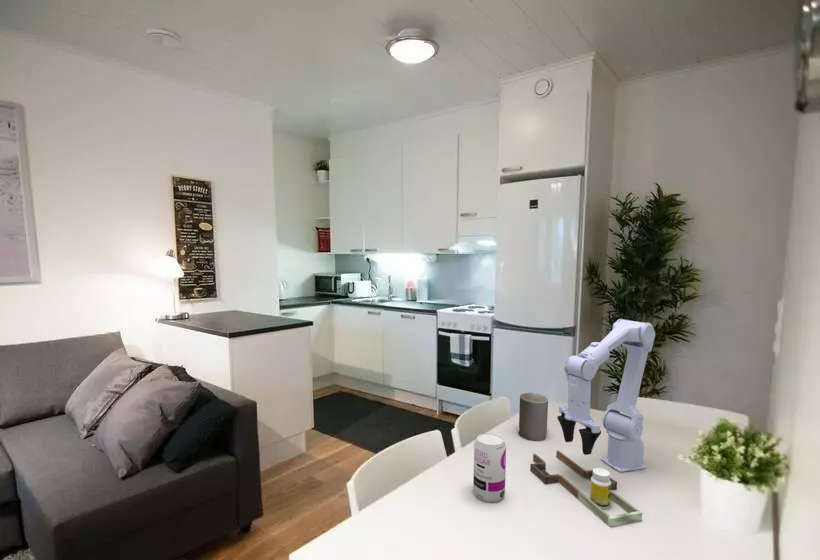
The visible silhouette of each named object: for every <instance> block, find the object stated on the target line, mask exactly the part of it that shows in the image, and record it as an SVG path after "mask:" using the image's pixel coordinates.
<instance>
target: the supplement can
mask: <svg viewBox="0 0 820 560" xmlns="http://www.w3.org/2000/svg"><path fill="white" fill-rule="evenodd" d="M506 460H507V444H506V443H505V441H504V438H503V437H502V436H500V435H499V434H496V433H491V432H490V433H486V432H485V433H481V434H478V435H477V437H476V439H475V441H474V443H473V483H472V484H473V486H472V488H473V489H472V490H473V493H474V495H475V496H476V497H477V498H478V499H480V500H481V501H484V502H488V503H497V502H500V501H501V500H502V499H503V498H504V497H505V496H506V468H507V467H506V465H507V464H506V463H507V461H506Z"/></svg>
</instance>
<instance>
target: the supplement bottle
mask: <svg viewBox="0 0 820 560" xmlns="http://www.w3.org/2000/svg"><path fill="white" fill-rule="evenodd" d="M592 470H593V476H592V477H591V481H590V493H589V494H590V495H589V496H590V497H589V499H591V500H592V501H593V502H594V503H595V504H597V505H598V506H599V507H600V508H601V509H603V510H606V509H609V508H610V507H611V503H612V502H611V501H612V500H611V481H610V478H611V472H610V471H609V470H607V469H606V468H602V467H595V468H593V469H592Z"/></svg>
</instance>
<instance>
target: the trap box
mask: <svg viewBox="0 0 820 560" xmlns="http://www.w3.org/2000/svg"><path fill="white" fill-rule="evenodd" d="M555 454H556V455H555V456H556V458H557V459H558V460H559V461H561V462H562V463H563V464H565V465H566V466H567V467H568V468H570V469H571V470H572V471H573V472H575V473H576V474H577V475H579V476H580V477H581V478H583V479H585V480H588V481H589V482H591V477H592V476H593V469H591V470H585V469H584V468H583V467H581V466H580V465H579V464H578V463H576V461H575V462H574V461H573V459H570V458H569V457H568V456H567V455H566V454H564V453H563V452H561V451H560V450H556V452H555ZM532 461H533V462H534V463H531V464H530V467H529V468H530V470H529V471H530V472H531V473H532V474H533V475H534V474H535V475H534V476H535V477H536V478H538V480H540V481H541V482H542V483H543V485H552V484H560V485H561V486H562V487H563V488H564V489H566V491H568V492H569V493H570V494H571V495H572V496H574V497H575V499H577V500H579V501H580V503H582V504H583V505H584V506H585V507H586V508H588V509H589V510H590V511H591V512H592V513H593V514H594V515H595V516H596V517H598V518H599V519H600V520H601V521H602V522H604V523H605V524H606V525H607V526H608V527H610V528H613V527H618V526H623V525H629V524H633V523H637V522H642V521H643V512H642V511H640V510H639V509H638V508H637V507H635V506H633V505H632V504H631V503H630V502H628V501H627V500H626V499H624V498H623V497H622V496H620V495H619V494H618V493H617V492H615V491H616V490H618V482H617V481H616V480H614V479H613V478H611V477H610V481H611V501H612V502H614V503H615V504H616V505H617V506H619V507H620V508H622V510H624V511H625V512H626V513H621V514H616V515H610V514H609V513H608V512H606V511H605V509H602V508H600V507H599V506H598V505H597V504H595V503H594V502H593V501H592V500H591V499H590V497H588V496H587V495H586V494H585V493H583V492H582V491H581V490H580V489H579V488H577V487H576V485H574V484H573V483H571V482H570V481H569V480H568V479H567V478H566V477H564V476H563V475H560V474H559V473H556V474H550V473H549V472H548V471H547V470H546V469H547V468H546V465H547V464H546V461H545V460H544V459H542V458H541V457H540V456H539V455H538V454H536V453H533V454H532Z"/></svg>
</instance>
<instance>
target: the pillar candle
mask: <svg viewBox="0 0 820 560" xmlns="http://www.w3.org/2000/svg"><path fill="white" fill-rule="evenodd" d="M548 409H549V398H548V397H547V396H546V395H543V394H541V393H540V394H539V393H535V392H534V393H533V392H525V393H521V394H520V395H519V412H518V414H519V415H518V416H519V417H518V418H519V419H518V421H519V422H518V435H519V436H520V437H521V438H522V439H525V440H527V441H532V442H541V441H544V440H546V439H547V435H548V414H549V412H548Z"/></svg>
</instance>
